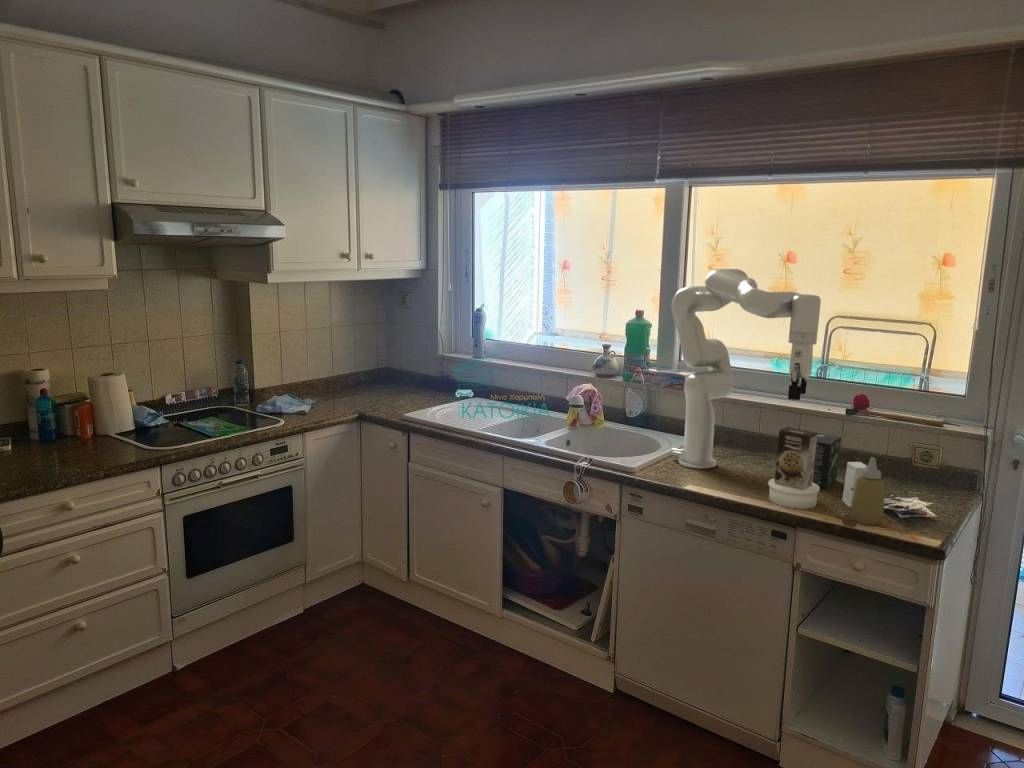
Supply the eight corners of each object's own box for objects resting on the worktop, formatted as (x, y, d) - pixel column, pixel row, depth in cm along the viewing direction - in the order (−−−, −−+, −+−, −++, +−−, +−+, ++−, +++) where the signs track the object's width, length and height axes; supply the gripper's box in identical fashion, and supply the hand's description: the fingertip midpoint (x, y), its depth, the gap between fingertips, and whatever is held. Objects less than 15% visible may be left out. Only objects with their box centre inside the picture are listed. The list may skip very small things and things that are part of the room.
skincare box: (841, 501, 218) (845, 461, 216) (856, 501, 218) (861, 461, 216) (850, 508, 212) (854, 467, 210) (866, 508, 212) (870, 467, 210)
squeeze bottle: (887, 522, 202) (894, 458, 199) (875, 529, 197) (883, 464, 193) (856, 514, 208) (863, 451, 204) (844, 521, 202) (851, 457, 199)
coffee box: (773, 483, 217) (777, 429, 214) (782, 478, 222) (786, 426, 219) (804, 490, 211) (809, 435, 208) (813, 485, 216) (818, 431, 213)
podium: (763, 504, 215) (764, 487, 214) (771, 490, 227) (772, 474, 226) (814, 512, 208) (816, 495, 207) (820, 498, 220) (822, 482, 219)
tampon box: (807, 475, 243) (811, 431, 240) (837, 481, 237) (841, 436, 234) (796, 483, 234) (800, 438, 231) (826, 489, 228) (830, 443, 226)
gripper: (812, 342, 204) (805, 403, 207) (821, 335, 219) (814, 392, 222) (783, 340, 207) (777, 400, 211) (794, 333, 222) (788, 389, 226)
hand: (796, 396), depth 216 cm, fingers open, 9 cm apart
